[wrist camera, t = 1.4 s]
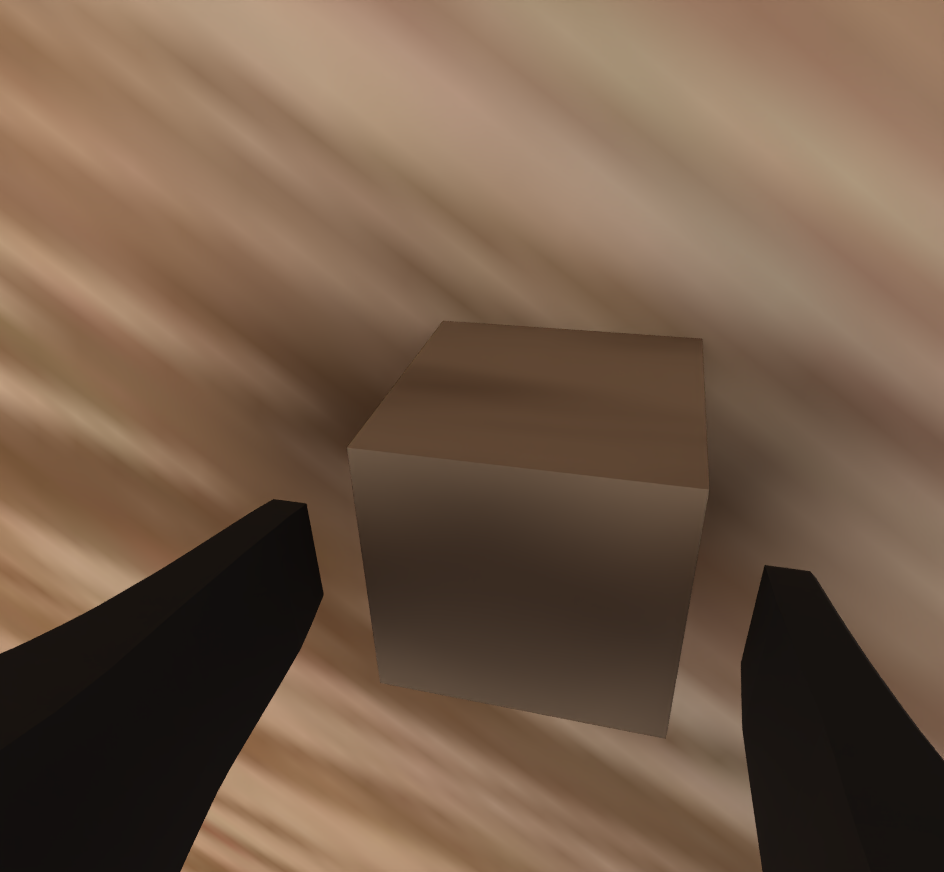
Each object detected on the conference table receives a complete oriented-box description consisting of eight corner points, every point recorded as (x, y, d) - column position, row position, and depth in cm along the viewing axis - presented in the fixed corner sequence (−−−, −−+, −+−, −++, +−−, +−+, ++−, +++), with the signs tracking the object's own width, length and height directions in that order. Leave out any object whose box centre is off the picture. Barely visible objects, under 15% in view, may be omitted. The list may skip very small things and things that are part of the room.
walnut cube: (671, 546, 16) (666, 738, 12) (454, 516, 17) (379, 682, 13) (702, 337, 13) (709, 489, 9) (444, 319, 14) (346, 447, 10)
